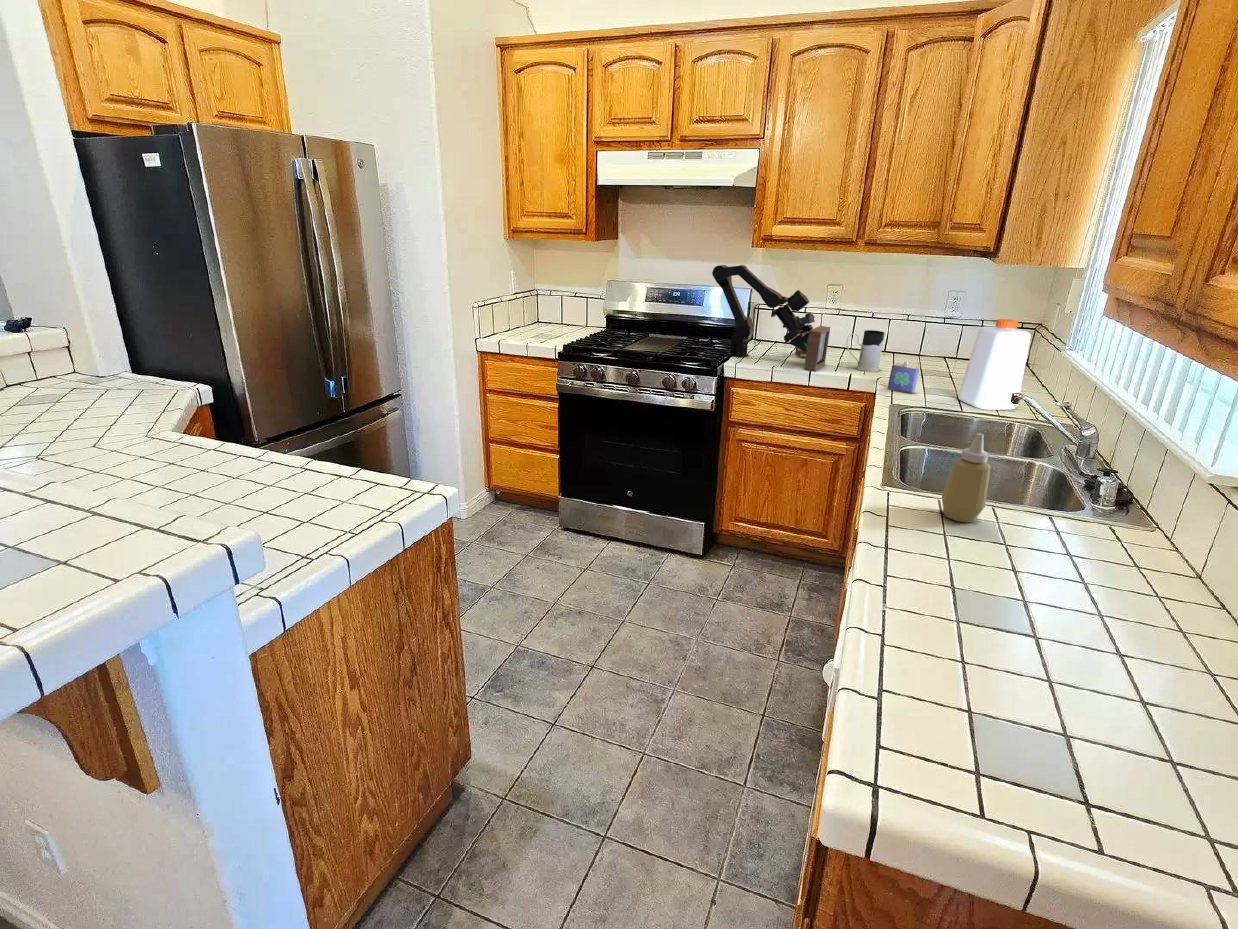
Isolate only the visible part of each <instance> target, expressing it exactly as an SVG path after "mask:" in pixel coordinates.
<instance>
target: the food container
mask: <svg viewBox="0 0 1238 929" xmlns="http://www.w3.org/2000/svg"><path fill="white" fill-rule="evenodd" d="M804 344H805V343H804ZM805 346H806V344H805ZM794 354H795V355H796V356H797V357H799V358H800V359H806V355H805V352H804V351H802V350H800V349H799V348H797V347H795V352H794Z"/></svg>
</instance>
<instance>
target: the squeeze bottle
mask: <svg viewBox="0 0 1238 929" xmlns="http://www.w3.org/2000/svg"><path fill="white" fill-rule="evenodd" d="M984 436H985V434H984V433H979V432H978V433H976V434H975V437H974V438H973V440H972V442H971V444H970V446H969V447H965V448H963V449H962V451H961V456H960V457H958V458H956V459H955V460H954V461H953V464H952V467H951V469H950V473H949V475H948V477H947V481H946V483H945V486H944V489H943V491H942V494H941V503H942V509H943V515H944V516H945V517H947V518H948V519H950V520H953V521H955V522H960V523H972V522H975V521H976V520H977V518H978V517H979V516H980V514H981V513H982V511H983V510H984V509H985V508H986V502H987V496H988V489H989V482H990V476H991V465H990V464H989V463H988V459H989V456H990V455H989V452H987V451H986V450H984V440H985V438H984Z"/></svg>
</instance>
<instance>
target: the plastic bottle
mask: <svg viewBox="0 0 1238 929" xmlns="http://www.w3.org/2000/svg"><path fill="white" fill-rule="evenodd" d="M995 322H996V323H995V325H994V326H993V325H991V326H982V327H980V328H979V329H978V332H977V335H976V338H975V342H974V343H973V344H974V345H973V347H972V350H971V354H970V357H969V360H968V362H967V363H968V364H967V366H966V369H965V372H964V375H963V379H962V382H961V384H960V388H959V391H958V395H957V398H958V400H959V401H961V402H963V403H965V404H967V405H969V406H972V407H975V408H977V409H981V410H986V411H1004V410H1005V411H1007V410H1008V411H1010V410H1014V409H1016V408H1017V407H1018V405H1019V403H1018V404H1013V403H1012V402H1011V397H1012V393H1020V394H1021V390H1022V384H1023V380H1024V374H1025V370H1026V364H1027V359H1028V353H1029V348H1030V343H1031V338H1032V335H1031V333H1030V332H1029V331H1027V330H1024V329H1019V328H1018V326H1019V321H1018V320H1016V319H1009V318H998V319H996V321H995Z"/></svg>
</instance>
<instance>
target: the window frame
mask: <svg viewBox="0 0 1238 929" xmlns="http://www.w3.org/2000/svg"><path fill="white" fill-rule="evenodd" d="M830 334H831V326H825V325H824V326H823V325H819V326H816V327H813V329H812V330H810V332H809V339H808V346H807V353H806V358H804V367H803V371H810V372H816V371H818V370H819V369H820V368H822V367H824V366H825V364H826V359H827V352H828V346H829V339H830Z"/></svg>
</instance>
